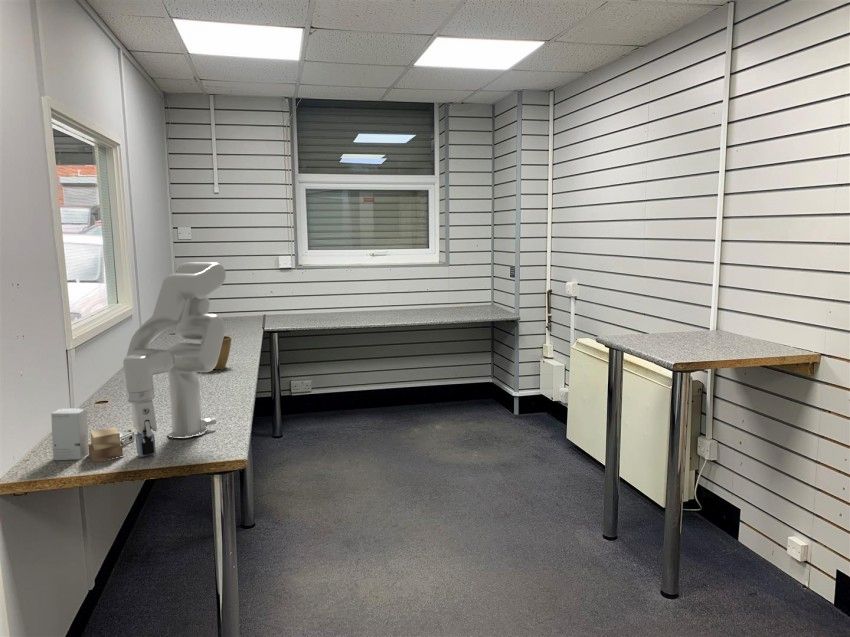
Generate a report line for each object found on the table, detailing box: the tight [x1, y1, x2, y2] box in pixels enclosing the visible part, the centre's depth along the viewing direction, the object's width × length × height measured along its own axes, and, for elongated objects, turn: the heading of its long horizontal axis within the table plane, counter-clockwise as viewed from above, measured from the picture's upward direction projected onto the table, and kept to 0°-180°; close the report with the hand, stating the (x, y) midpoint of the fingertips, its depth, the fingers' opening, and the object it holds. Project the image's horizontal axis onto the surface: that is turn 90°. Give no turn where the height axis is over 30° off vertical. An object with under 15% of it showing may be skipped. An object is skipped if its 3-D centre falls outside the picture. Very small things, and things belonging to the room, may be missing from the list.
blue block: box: [134, 432, 157, 458], centre depth 184 cm, size 4×4×6 cm
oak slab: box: [90, 426, 121, 450], centre depth 183 cm, size 7×7×4 cm
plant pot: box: [200, 335, 232, 370], centre depth 305 cm, size 15×15×16 cm
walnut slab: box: [88, 442, 124, 464], centre depth 184 cm, size 8×8×4 cm
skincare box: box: [50, 407, 89, 461], centre depth 182 cm, size 8×6×15 cm
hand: (146, 450), depth 184 cm, fingers closed on blue block, 4 cm apart
